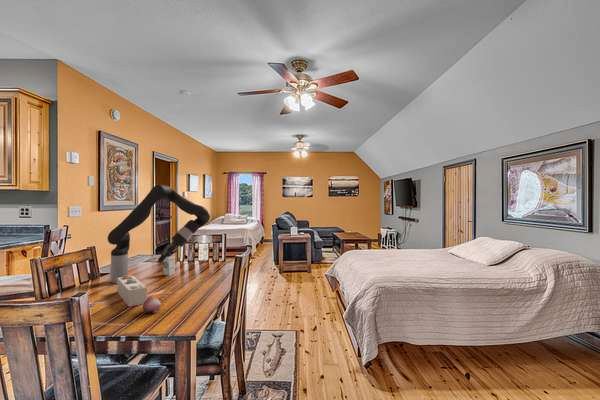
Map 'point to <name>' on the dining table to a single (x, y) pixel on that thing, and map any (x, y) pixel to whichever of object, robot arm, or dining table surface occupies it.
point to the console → (131, 291)
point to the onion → (151, 305)
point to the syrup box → (169, 265)
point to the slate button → (130, 281)
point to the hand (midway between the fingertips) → (159, 261)
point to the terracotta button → (126, 277)
